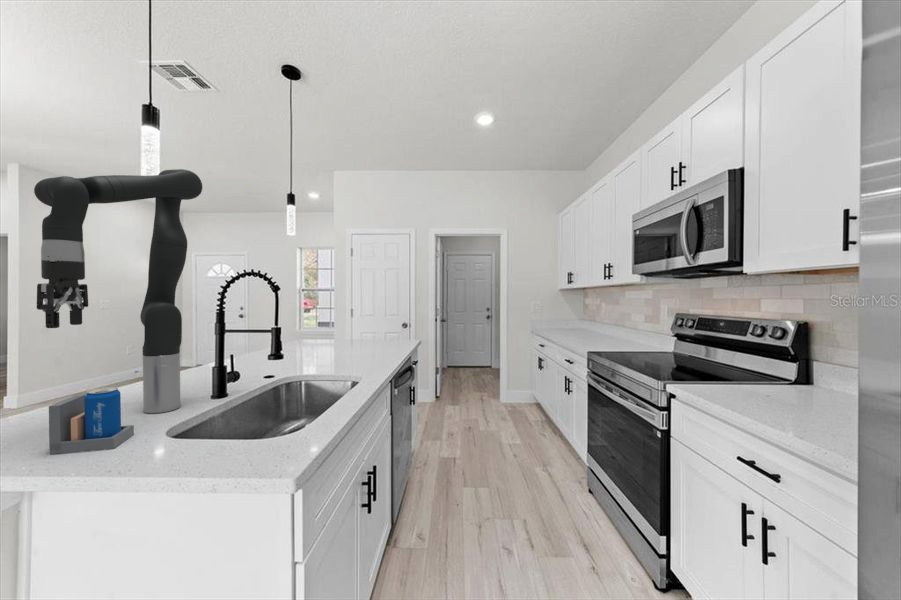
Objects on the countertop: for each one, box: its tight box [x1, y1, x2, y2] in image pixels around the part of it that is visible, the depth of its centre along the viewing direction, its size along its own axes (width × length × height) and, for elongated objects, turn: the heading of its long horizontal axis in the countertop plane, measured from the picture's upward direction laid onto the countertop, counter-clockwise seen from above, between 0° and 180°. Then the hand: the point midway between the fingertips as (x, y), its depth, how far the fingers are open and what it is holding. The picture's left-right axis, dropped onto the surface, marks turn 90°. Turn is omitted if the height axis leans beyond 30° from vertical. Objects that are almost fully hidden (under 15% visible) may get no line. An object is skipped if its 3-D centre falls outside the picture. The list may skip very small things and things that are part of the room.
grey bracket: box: [48, 394, 135, 455], centre depth 92 cm, size 12×9×11 cm
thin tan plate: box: [71, 412, 85, 441], centre depth 92 cm, size 1×7×6 cm, turn 17°
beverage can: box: [84, 386, 122, 440], centre depth 93 cm, size 6×6×12 cm
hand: (64, 326), depth 94 cm, fingers open, 8 cm apart
